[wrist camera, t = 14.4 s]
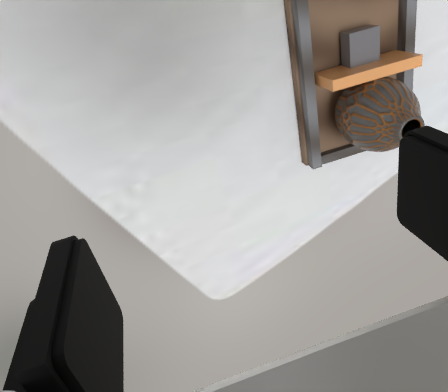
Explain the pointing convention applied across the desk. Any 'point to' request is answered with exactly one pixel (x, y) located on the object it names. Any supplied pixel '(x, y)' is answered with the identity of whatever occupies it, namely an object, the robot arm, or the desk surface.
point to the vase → (377, 114)
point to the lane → (337, 62)
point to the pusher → (364, 60)
